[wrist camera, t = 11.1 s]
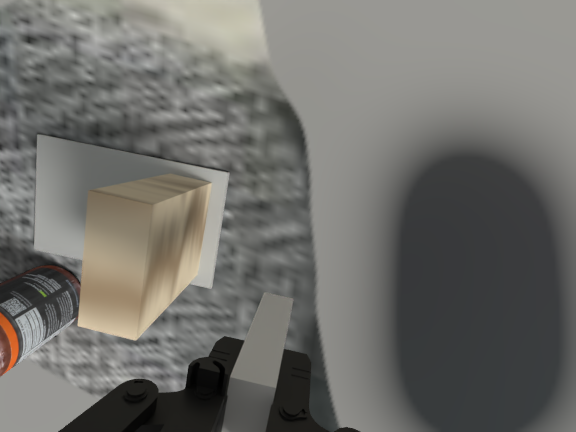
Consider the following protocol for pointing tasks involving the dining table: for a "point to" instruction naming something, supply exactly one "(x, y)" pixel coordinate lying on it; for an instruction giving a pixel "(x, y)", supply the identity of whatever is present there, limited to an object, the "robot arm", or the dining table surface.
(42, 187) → the grey mat
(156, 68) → the dining table surface
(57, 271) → the supplement bottle
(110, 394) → the robot arm
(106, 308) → the small box
